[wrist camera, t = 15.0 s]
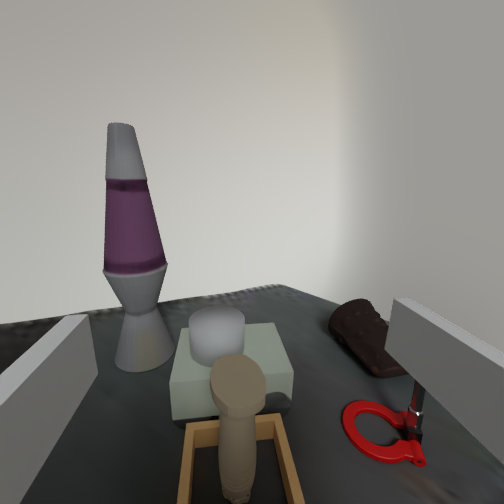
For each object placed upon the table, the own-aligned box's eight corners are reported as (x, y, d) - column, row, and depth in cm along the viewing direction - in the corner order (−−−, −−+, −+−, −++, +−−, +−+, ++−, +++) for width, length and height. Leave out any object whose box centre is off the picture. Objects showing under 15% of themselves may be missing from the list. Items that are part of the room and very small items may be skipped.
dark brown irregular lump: (460, 340, 42) (389, 290, 54) (390, 364, 37) (331, 303, 50) (439, 379, 46) (378, 324, 59) (375, 404, 42) (323, 339, 54)
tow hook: (343, 454, 31) (428, 477, 29) (351, 367, 28) (448, 384, 25) (341, 401, 39) (408, 415, 36) (347, 327, 36) (421, 337, 33)
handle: (222, 539, 23) (219, 415, 19) (209, 467, 29) (204, 360, 25) (269, 517, 25) (276, 397, 21) (248, 453, 31) (250, 349, 26)
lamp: (182, 337, 53) (169, 132, 42) (162, 374, 43) (138, 116, 32) (133, 334, 54) (107, 131, 43) (101, 371, 43) (57, 115, 32)
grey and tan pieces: (146, 591, 20) (128, 477, 17) (184, 367, 45) (179, 301, 41) (332, 554, 23) (351, 446, 19) (271, 360, 47) (274, 297, 43)
